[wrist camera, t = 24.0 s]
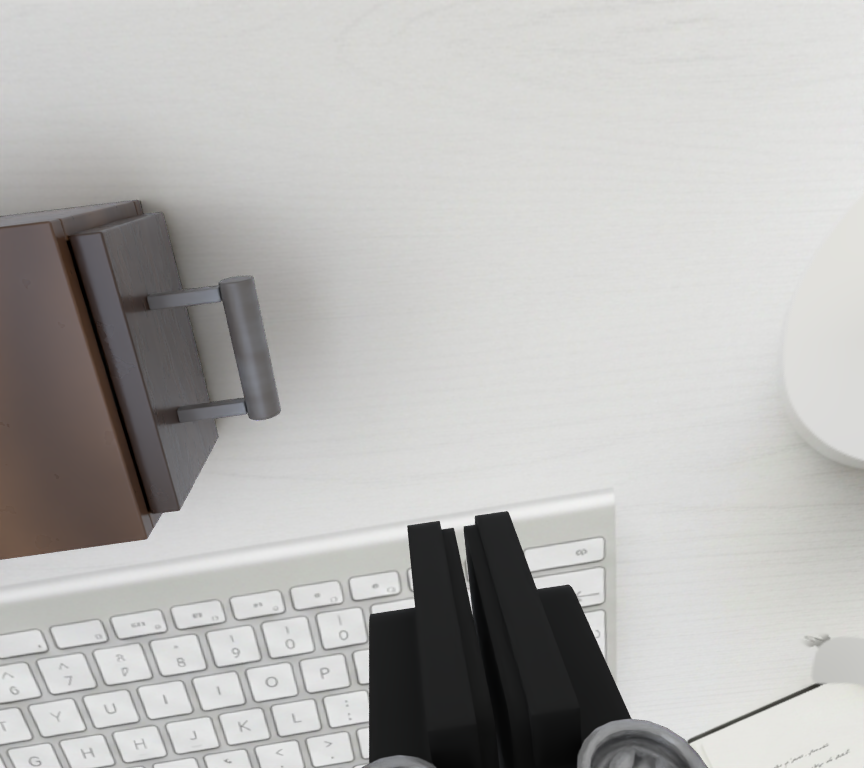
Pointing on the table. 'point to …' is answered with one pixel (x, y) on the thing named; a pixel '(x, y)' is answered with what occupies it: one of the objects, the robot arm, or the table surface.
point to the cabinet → (59, 398)
